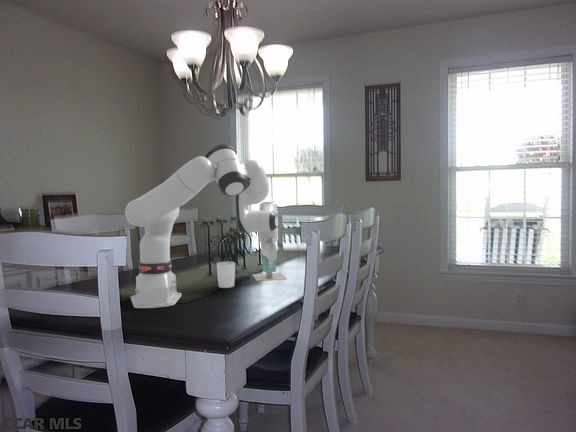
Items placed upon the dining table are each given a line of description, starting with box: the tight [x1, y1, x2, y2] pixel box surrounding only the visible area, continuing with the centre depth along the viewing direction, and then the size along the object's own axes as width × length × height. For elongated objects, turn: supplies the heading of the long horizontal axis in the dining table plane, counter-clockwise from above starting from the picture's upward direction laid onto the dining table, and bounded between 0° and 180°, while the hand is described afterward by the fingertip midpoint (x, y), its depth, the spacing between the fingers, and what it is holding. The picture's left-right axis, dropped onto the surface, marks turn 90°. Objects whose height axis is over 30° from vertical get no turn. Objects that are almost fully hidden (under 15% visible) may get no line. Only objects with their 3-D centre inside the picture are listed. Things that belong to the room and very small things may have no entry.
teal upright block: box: [262, 255, 277, 273], centre depth 214 cm, size 5×5×7 cm
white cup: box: [216, 261, 236, 289], centre depth 196 cm, size 8×8×10 cm
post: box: [251, 272, 288, 282], centre depth 214 cm, size 14×14×7 cm
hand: (269, 266), depth 214 cm, fingers closed on teal upright block, 5 cm apart
